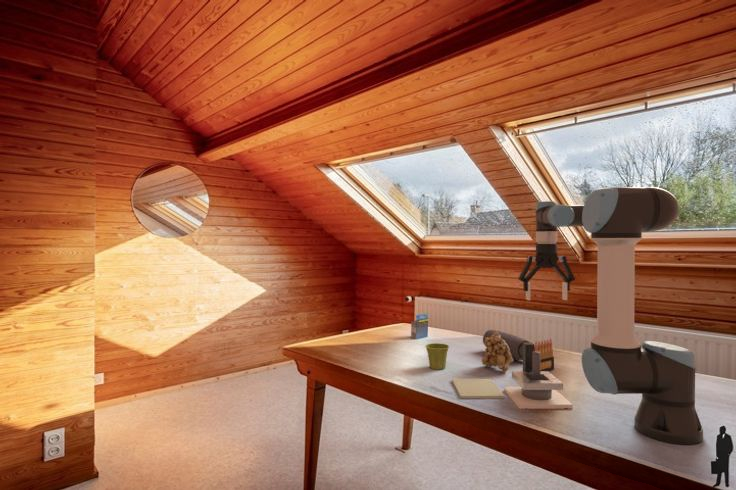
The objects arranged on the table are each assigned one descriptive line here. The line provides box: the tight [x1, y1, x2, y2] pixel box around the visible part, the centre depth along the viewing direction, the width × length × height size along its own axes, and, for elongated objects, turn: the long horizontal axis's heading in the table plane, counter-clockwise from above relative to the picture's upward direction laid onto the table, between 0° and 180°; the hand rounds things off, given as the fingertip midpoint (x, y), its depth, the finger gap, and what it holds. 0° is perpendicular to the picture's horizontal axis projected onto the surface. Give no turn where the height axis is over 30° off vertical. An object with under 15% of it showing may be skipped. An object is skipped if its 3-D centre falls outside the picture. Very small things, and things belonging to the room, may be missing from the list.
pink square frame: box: [511, 341, 564, 391], centre depth 144 cm, size 15×12×11 cm
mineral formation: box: [481, 332, 514, 373], centre depth 174 cm, size 8×13×15 cm, turn 32°
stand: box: [503, 351, 574, 410], centre depth 143 cm, size 16×16×15 cm
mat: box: [451, 378, 506, 399], centre depth 152 cm, size 17×14×1 cm
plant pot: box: [425, 342, 450, 371], centre depth 177 cm, size 9×9×9 cm
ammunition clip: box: [534, 338, 555, 372], centre depth 172 cm, size 11×2×12 cm, turn 123°
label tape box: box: [410, 313, 429, 340], centre depth 229 cm, size 9×4×12 cm, turn 130°
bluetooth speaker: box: [482, 329, 530, 361], centre depth 193 cm, size 23×9×10 cm, turn 22°
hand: (546, 299), depth 167 cm, fingers open, 13 cm apart
